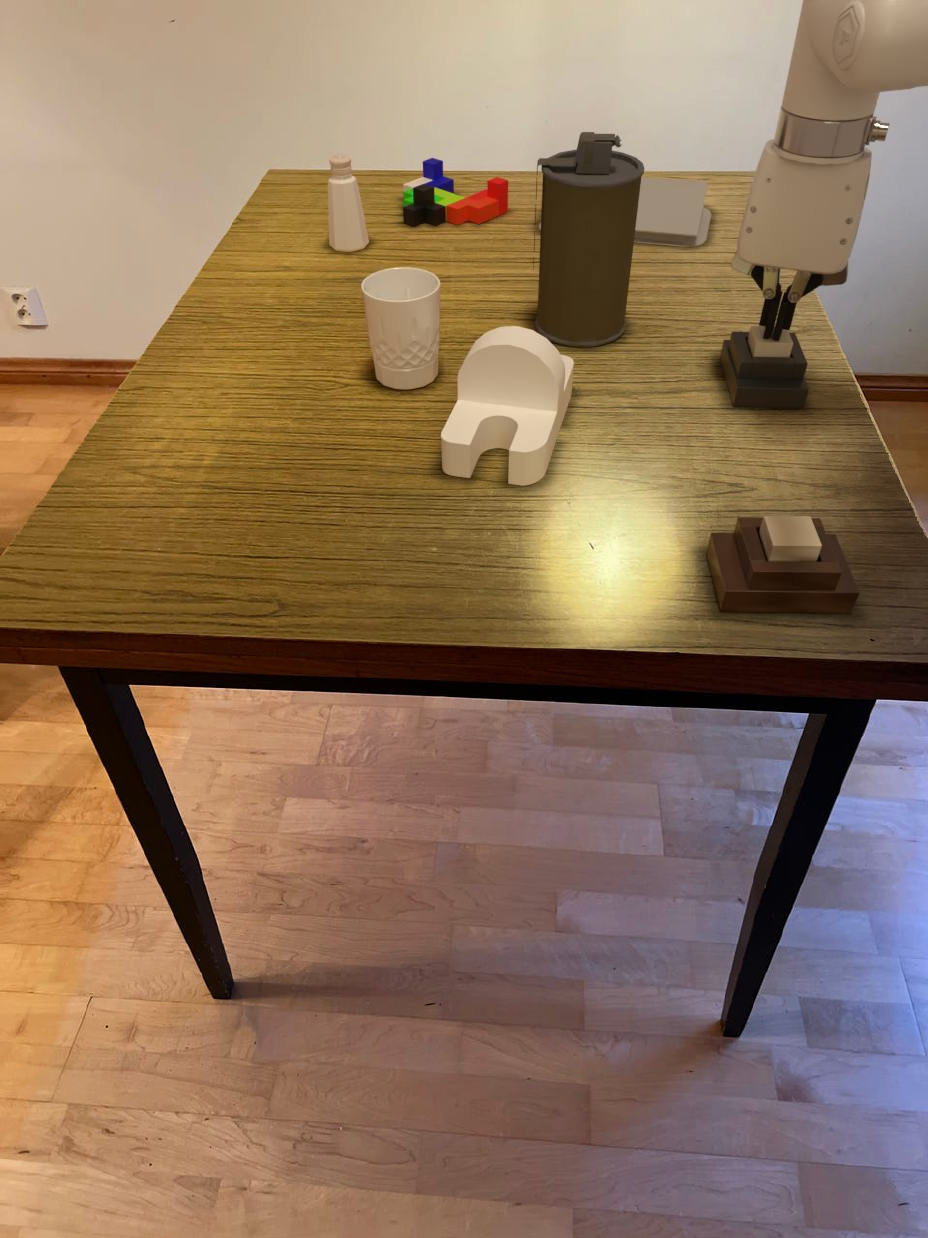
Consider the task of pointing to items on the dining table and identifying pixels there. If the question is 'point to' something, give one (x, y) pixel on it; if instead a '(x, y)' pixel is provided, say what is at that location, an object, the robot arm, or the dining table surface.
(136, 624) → the dining table surface
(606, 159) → the canister
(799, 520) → the near key
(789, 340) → the far key
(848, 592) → the near block
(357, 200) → the salt shaker
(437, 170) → the building blocks
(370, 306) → the white cup
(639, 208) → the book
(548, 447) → the slotted bracket
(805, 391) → the far block
